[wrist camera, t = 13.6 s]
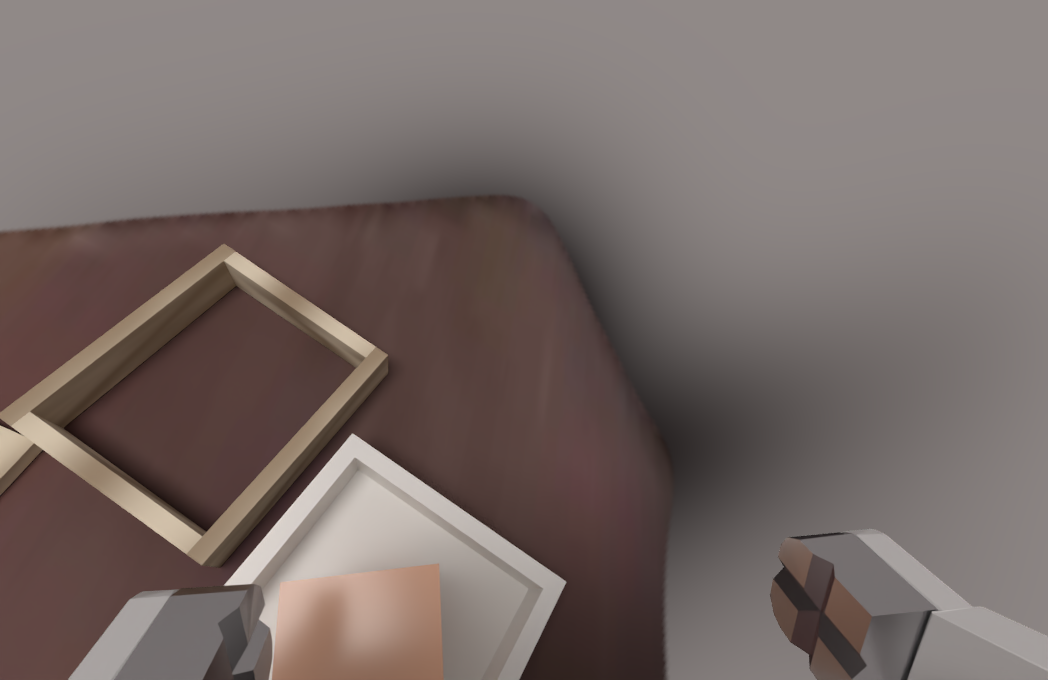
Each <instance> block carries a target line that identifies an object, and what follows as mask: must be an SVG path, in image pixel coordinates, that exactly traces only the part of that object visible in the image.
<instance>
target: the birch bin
mask: <svg viewBox="0 0 1048 680" xmlns="http://www.w3.org/2000/svg"><path fill="white" fill-rule="evenodd" d="M235 286H237V287H239V288H240V289H242V290H243V291H245V292H246V293H248V294H249V295H251V296H252V297H253V298H255V299H256V300H258V301H259V302H261V303H262V304H264V305H265V306H267V307H268V308H270V309H271V310H272V311H274V312H275V313H277V314H278V315H280V316H281V317H283V318H284V319H286V320H287V321H289V322H290V323H291V324H293V325H294V326H296V327H297V328H299V329H300V330H302V331H303V332H305V333H306V334H308V335H309V336H310V337H312V338H313V339H315V340H316V341H318V342H319V343H321V344H322V345H324V346H325V347H326V348H328V349H329V350H331V351H332V352H334V353H335V354H337V355H338V356H340V357H341V358H343V359H344V360H345V361H347V362H348V363H350V364H351V365H353V366H354V367H356V369H355V370H354V371H353V372H352V374H351V375H350V376H349V377H348V378H347V379H346V380H345V381H344V382H343V383H342V384H341V386H340V387H339V388H338V389H337V390H336V391H335V392H334V393H333V394H332V395H331V396H330V398H329V399H328V400H327V401H326V402H325V403H324V404H323V405H322V406H321V407H320V408H319V410H318V411H317V412H316V413H315V414H314V415H313V416H312V417H311V418H310V419H309V421H308V422H307V423H306V424H305V425H304V426H303V427H302V428H301V429H300V430H299V431H298V433H297V434H296V435H295V436H294V437H293V438H292V439H291V440H290V441H289V442H288V443H287V445H286V446H285V447H284V448H283V449H282V450H281V451H280V452H279V453H278V454H277V455H276V457H275V458H274V459H273V460H272V461H271V462H270V463H269V464H268V465H267V466H266V468H265V469H264V470H263V471H262V472H261V473H260V474H259V475H258V476H257V477H256V478H255V480H254V481H253V482H252V483H251V484H250V485H249V486H248V487H247V488H246V489H245V490H244V492H243V493H242V494H241V495H240V496H239V497H238V498H237V499H236V500H235V501H234V502H233V504H232V505H231V506H230V507H229V508H228V509H227V510H226V511H225V512H224V513H223V514H222V516H221V517H220V518H219V519H218V520H217V521H216V522H215V523H214V524H213V525H212V527H211V528H210V529H209V530H208V531H207V532H206V531H205V530H203V529H202V528H201V527H199V526H198V525H196V524H195V523H194V522H192V521H191V520H189V519H188V518H187V517H185V516H184V515H183V514H181V513H180V512H178V511H177V510H176V509H174V508H173V507H171V506H170V505H169V504H167V503H166V502H165V501H163V500H162V499H160V498H159V497H158V496H156V495H155V494H153V493H152V492H151V491H149V490H148V489H147V488H145V487H144V486H142V485H141V484H140V483H138V482H137V481H136V480H134V479H133V478H131V477H130V476H129V475H127V474H126V473H124V472H123V471H122V470H120V469H119V468H118V467H116V466H115V465H113V464H112V463H111V462H109V461H108V460H106V459H105V458H104V457H102V456H101V455H100V454H98V453H97V452H95V451H94V450H93V449H91V448H90V447H88V446H87V445H86V444H84V443H83V442H82V441H80V440H79V439H77V438H76V437H75V436H73V435H72V434H70V433H69V432H68V431H66V430H65V429H64V427H65V426H66V425H67V424H69V423H70V422H71V421H72V420H73V419H75V418H76V417H77V416H78V415H80V414H81V413H82V412H83V411H84V410H86V409H87V408H88V407H89V406H91V405H92V404H93V403H94V402H95V401H97V400H98V399H99V398H100V397H101V396H103V395H104V394H105V393H106V392H108V391H109V390H110V389H111V388H112V387H114V386H115V385H116V384H117V383H119V382H120V381H121V380H122V379H123V378H125V377H126V376H127V375H128V374H129V373H131V372H132V371H133V370H134V369H136V368H137V367H138V366H139V365H140V364H142V363H143V362H144V361H145V360H147V359H148V358H149V357H150V356H151V355H153V354H154V353H155V352H156V351H158V350H159V349H160V348H161V347H162V346H164V345H165V344H166V343H167V342H168V341H170V340H171V339H172V338H173V337H175V336H176V335H177V334H178V333H179V332H181V331H182V330H183V329H184V328H186V327H187V326H188V325H189V324H190V323H192V322H193V321H194V320H195V319H196V318H198V317H199V316H200V315H201V314H203V313H204V312H205V311H206V310H207V309H209V308H210V307H211V306H212V305H214V304H215V303H216V302H217V301H218V300H220V299H221V298H222V297H223V296H224V295H226V294H227V293H228V292H229V291H231V290H232V289H233V288H234V287H235ZM387 374H388V355H387V354H385V353H384V352H382V351H381V350H380V349H378V348H377V347H375V346H374V345H372V344H371V343H369V342H368V341H366V340H365V339H363V338H362V337H360V336H359V335H357V334H356V333H355V332H353V331H352V330H350V329H349V328H347V327H346V326H344V325H343V324H341V323H340V322H338V321H337V320H335V319H334V318H332V317H331V316H330V315H328V314H327V313H325V312H324V311H322V310H321V309H319V308H318V307H316V306H315V305H313V304H312V303H310V302H309V301H307V300H306V299H305V298H303V297H302V296H300V295H299V294H297V293H296V292H294V291H293V290H291V289H290V288H288V287H287V286H285V285H284V284H282V283H281V282H279V281H278V280H277V279H275V278H274V277H272V276H271V275H269V274H268V273H266V272H265V271H263V270H262V269H260V268H259V267H257V266H256V265H254V264H253V263H252V262H250V261H249V260H247V259H246V258H244V257H243V256H241V255H240V254H238V253H237V252H235V251H234V250H232V249H231V248H229V247H228V246H227V245H225V244H223V245H221V246H220V247H219V248H217V249H216V250H215V251H213V252H212V253H211V254H209V255H208V256H207V257H206V258H204V259H203V260H202V261H200V262H199V263H198V264H196V265H195V266H194V267H192V268H191V269H190V270H188V271H187V272H186V273H184V274H183V275H182V276H180V277H179V278H178V279H176V280H175V281H174V282H172V283H171V284H170V285H168V286H167V287H166V288H164V289H163V290H162V291H161V292H159V293H158V294H157V295H155V296H154V297H153V298H151V299H150V300H149V301H147V302H146V303H145V304H143V305H142V306H141V307H139V308H138V309H137V310H135V311H134V312H133V313H131V314H130V315H129V316H127V317H126V318H125V319H123V320H122V321H121V322H119V323H118V324H117V325H116V326H114V327H113V328H112V329H110V330H109V331H108V332H106V333H105V334H104V335H102V336H101V337H100V338H98V339H97V340H96V341H94V342H93V343H92V344H90V345H89V346H88V347H86V348H85V349H84V350H82V351H81V352H80V353H78V354H77V355H76V356H75V357H73V358H72V359H71V360H69V361H68V362H67V363H65V364H64V365H63V366H61V367H60V368H59V369H57V370H56V371H55V372H53V373H52V374H51V375H49V376H48V377H47V378H45V379H44V380H43V381H41V382H40V383H39V384H37V385H36V386H35V387H33V388H32V389H31V390H30V391H28V392H27V393H26V394H24V395H23V396H22V397H20V398H19V399H18V400H16V401H15V402H14V403H12V404H11V405H10V406H8V407H7V408H6V409H4V410H3V411H2V412H0V419H2V420H3V421H4V422H6V423H7V424H8V425H10V426H11V427H13V428H14V429H15V430H17V431H18V432H19V433H21V434H22V435H24V436H25V437H26V438H28V439H29V440H30V441H32V442H33V443H35V444H36V445H37V446H39V447H40V448H41V449H43V450H44V451H45V452H47V453H48V454H50V455H51V456H52V457H54V458H55V459H56V460H58V461H59V462H61V463H62V464H63V465H65V466H66V467H67V468H69V469H70V470H72V471H73V472H74V473H76V474H77V475H78V476H80V477H81V478H83V479H84V480H85V481H87V482H88V483H89V484H91V485H92V486H94V487H95V488H96V489H98V490H99V491H100V492H102V493H103V494H105V495H106V496H107V497H109V498H110V499H111V500H113V501H114V502H116V503H117V504H118V505H120V506H121V507H122V508H124V509H125V510H127V511H128V512H129V513H131V514H132V515H133V516H135V517H136V518H137V519H139V520H140V521H142V522H143V523H144V524H146V525H147V526H148V527H150V528H151V529H153V530H154V531H155V532H157V533H158V534H159V535H161V536H162V537H164V538H165V539H166V540H168V541H169V542H170V543H172V544H173V545H175V546H176V547H177V548H179V549H180V550H181V551H183V552H184V553H186V554H187V555H188V556H190V557H191V558H192V559H194V560H195V561H197V562H198V563H199V564H201V565H204V566H211V567H218V568H220V567H221V566H222V565H223V564H224V562H225V561H226V560H227V559H228V558H229V557H230V555H231V554H232V553H233V552H234V551H235V550H236V549H237V547H238V546H239V545H240V544H241V543H242V542H243V540H244V539H245V538H246V537H247V536H248V535H249V533H250V532H251V531H252V530H253V529H254V528H255V527H256V525H257V524H258V523H259V522H260V521H261V520H262V518H263V517H264V516H265V515H266V514H267V513H268V512H269V510H270V509H271V508H272V507H273V506H274V505H275V503H276V502H277V501H278V500H279V499H280V498H281V497H282V495H283V494H284V493H285V492H286V491H287V490H288V488H289V487H290V486H291V485H292V484H293V483H294V481H295V480H296V479H297V478H298V477H299V476H300V475H301V473H302V472H303V471H304V470H305V469H306V468H307V466H308V465H309V464H310V463H311V462H312V461H313V460H314V458H315V457H316V456H317V455H318V454H319V453H320V451H321V450H322V449H323V448H324V447H325V446H326V445H327V443H328V442H329V441H330V440H331V439H332V438H333V436H334V435H335V434H336V433H337V432H338V431H339V430H340V428H341V427H342V426H343V425H344V424H345V423H346V421H347V420H348V419H349V418H350V417H351V416H352V414H353V413H354V412H355V411H356V410H357V409H358V408H359V406H360V405H361V404H362V403H363V402H364V401H365V399H366V398H367V397H368V396H369V395H370V394H371V393H372V391H373V390H374V389H375V388H376V387H377V386H378V384H379V383H380V382H381V381H382V380H383V379H384V378H385V376H386V375H387Z"/></svg>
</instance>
